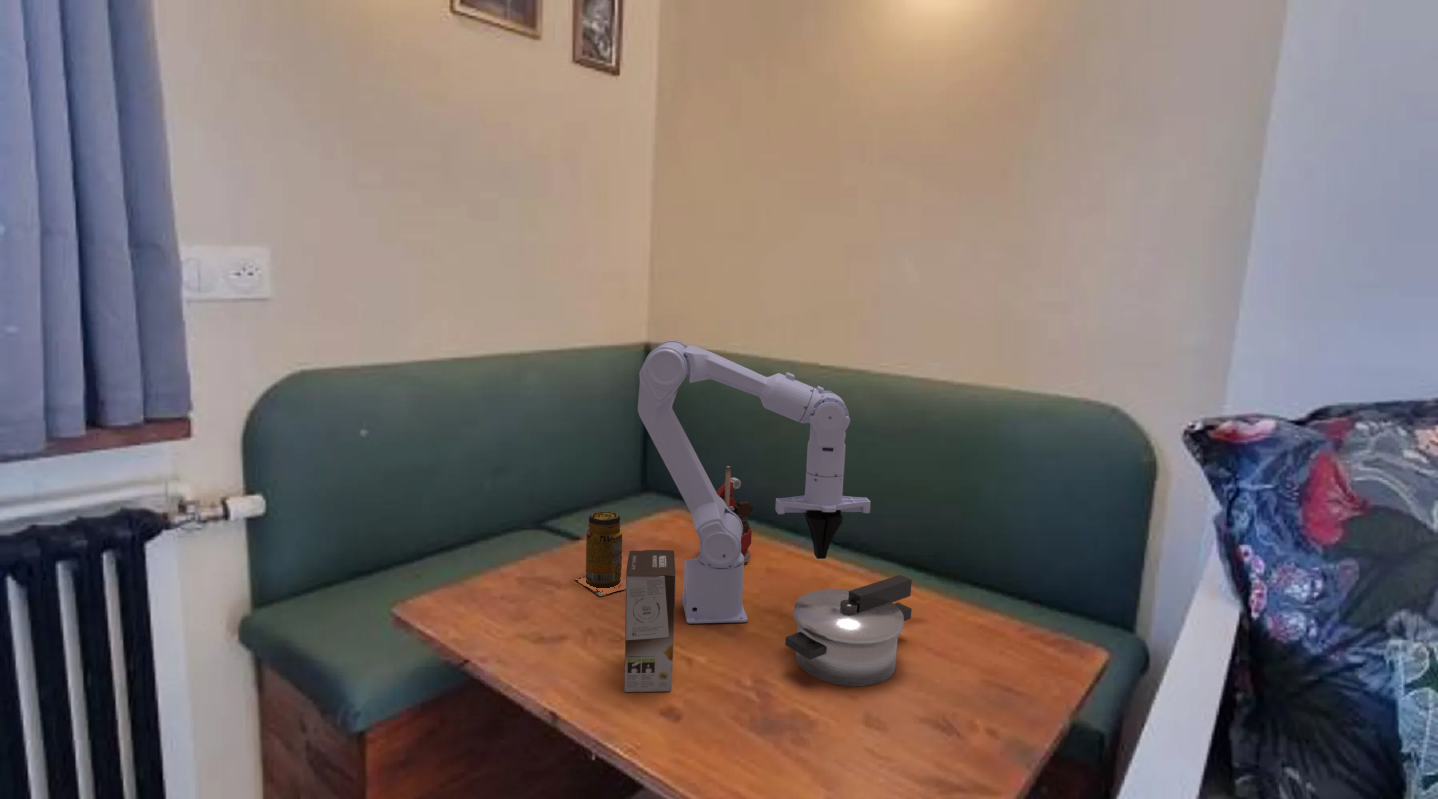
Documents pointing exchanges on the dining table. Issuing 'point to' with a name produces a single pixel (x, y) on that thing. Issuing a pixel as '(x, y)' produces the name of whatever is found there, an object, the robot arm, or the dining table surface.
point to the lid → (855, 612)
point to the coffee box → (649, 620)
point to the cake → (737, 510)
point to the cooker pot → (845, 658)
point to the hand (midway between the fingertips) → (819, 556)
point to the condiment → (603, 550)
